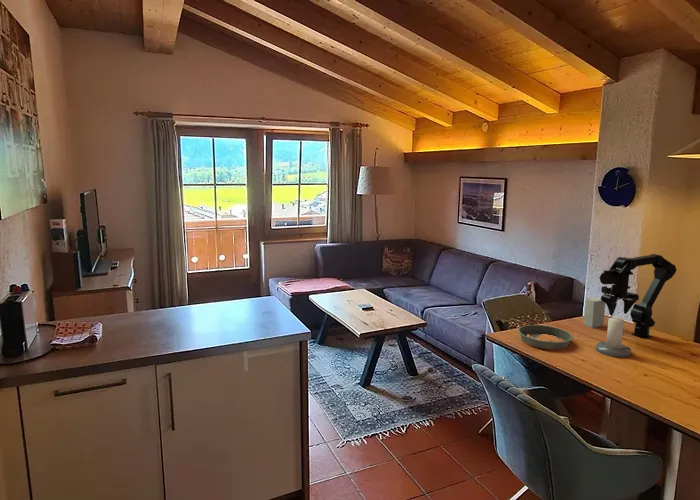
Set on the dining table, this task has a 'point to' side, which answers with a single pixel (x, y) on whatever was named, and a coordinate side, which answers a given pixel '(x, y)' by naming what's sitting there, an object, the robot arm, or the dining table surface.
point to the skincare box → (594, 312)
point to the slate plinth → (620, 353)
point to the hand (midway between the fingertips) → (618, 314)
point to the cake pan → (542, 329)
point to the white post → (614, 333)
